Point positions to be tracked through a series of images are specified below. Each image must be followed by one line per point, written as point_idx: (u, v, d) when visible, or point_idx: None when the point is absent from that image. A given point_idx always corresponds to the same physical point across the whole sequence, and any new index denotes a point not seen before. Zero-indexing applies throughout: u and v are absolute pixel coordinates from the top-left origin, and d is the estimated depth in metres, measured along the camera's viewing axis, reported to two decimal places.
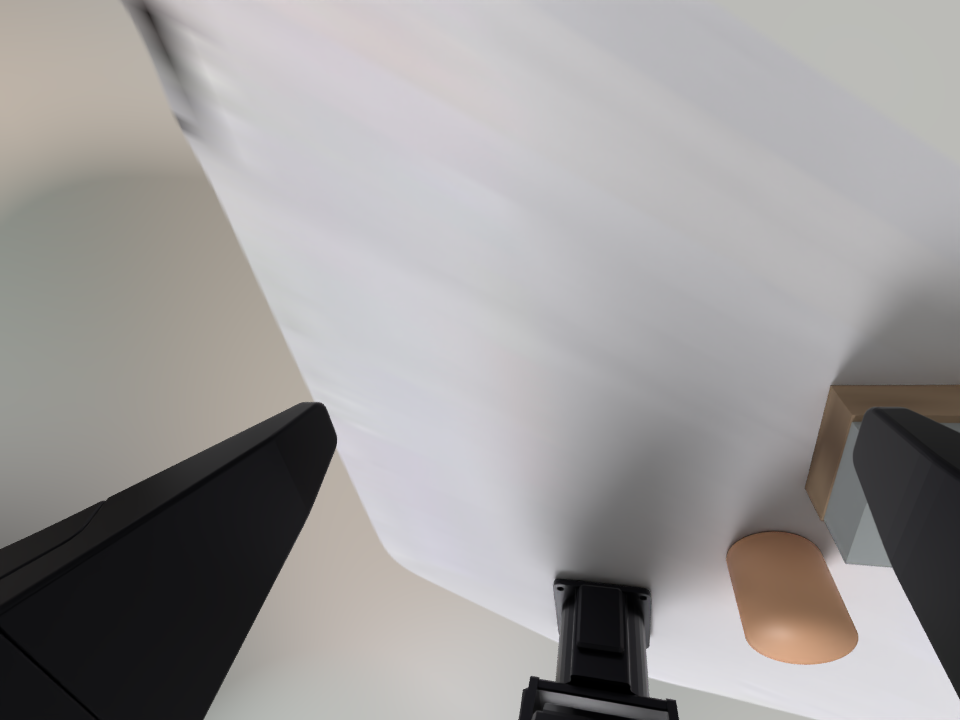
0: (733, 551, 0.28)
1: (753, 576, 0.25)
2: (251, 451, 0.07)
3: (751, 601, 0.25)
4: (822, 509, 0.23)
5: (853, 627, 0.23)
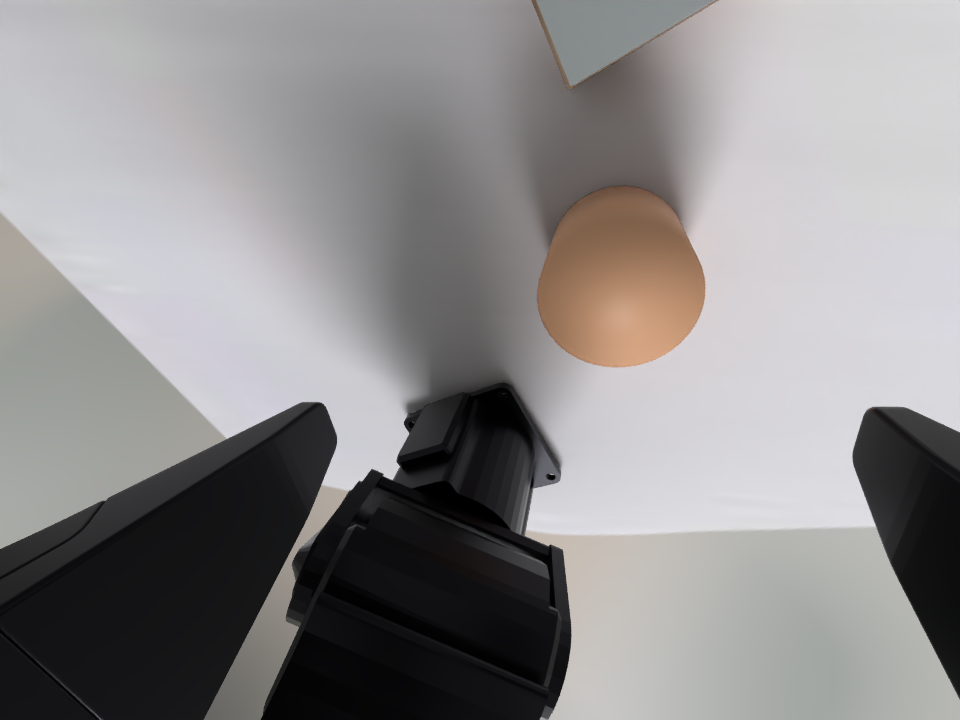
0: None
1: None
2: (251, 451, 0.07)
3: None
4: (559, 67, 0.14)
5: (672, 233, 0.13)
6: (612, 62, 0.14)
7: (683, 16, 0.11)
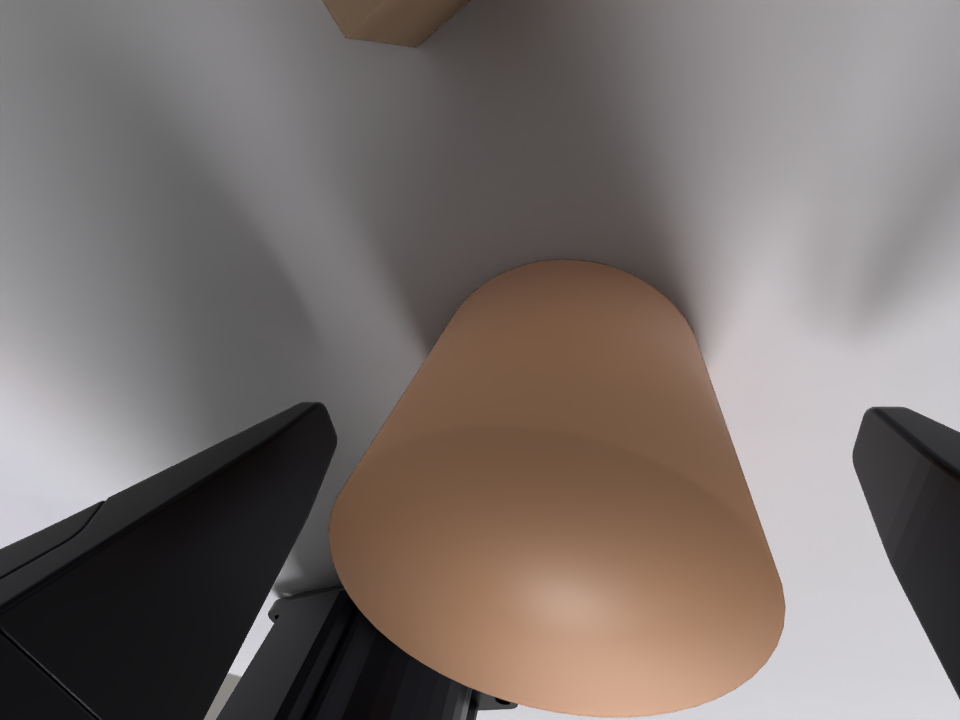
0: None
1: None
2: (251, 451, 0.07)
3: None
4: None
5: (673, 474, 0.04)
6: None
7: None
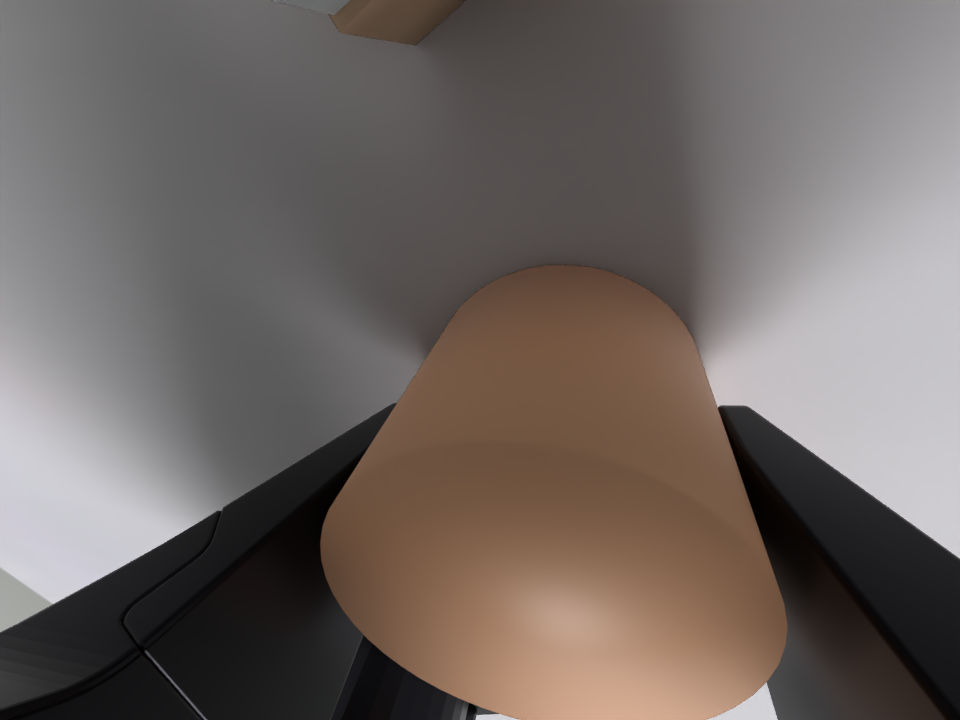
0: None
1: None
2: (361, 456, 0.07)
3: None
4: None
5: (672, 491, 0.04)
6: None
7: None
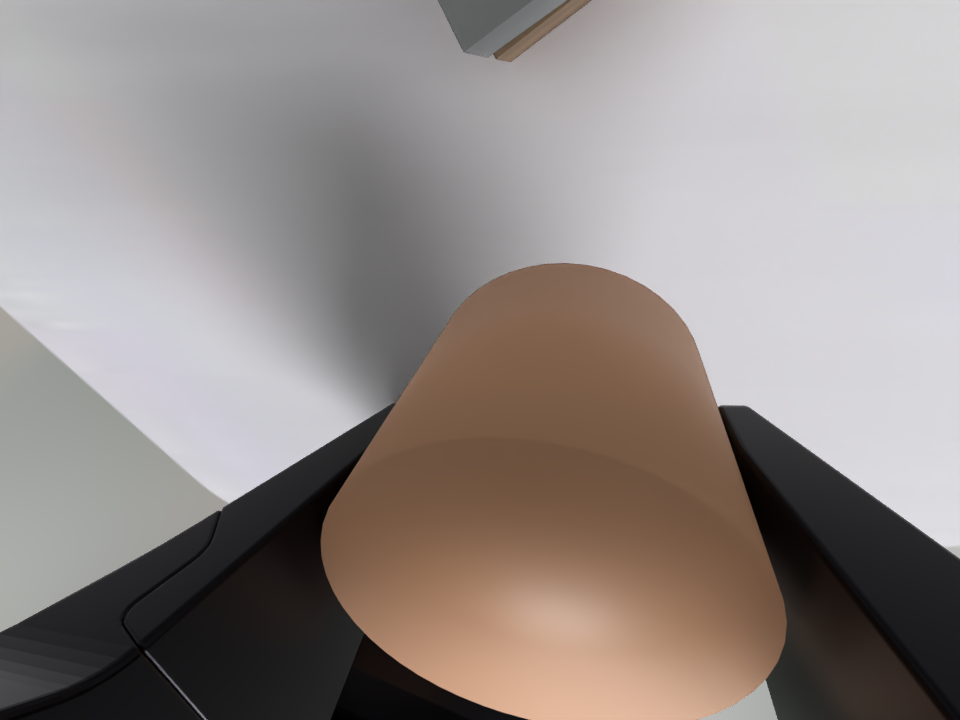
0: None
1: None
2: None
3: None
4: None
5: (671, 487, 0.04)
6: (543, 21, 0.11)
7: None
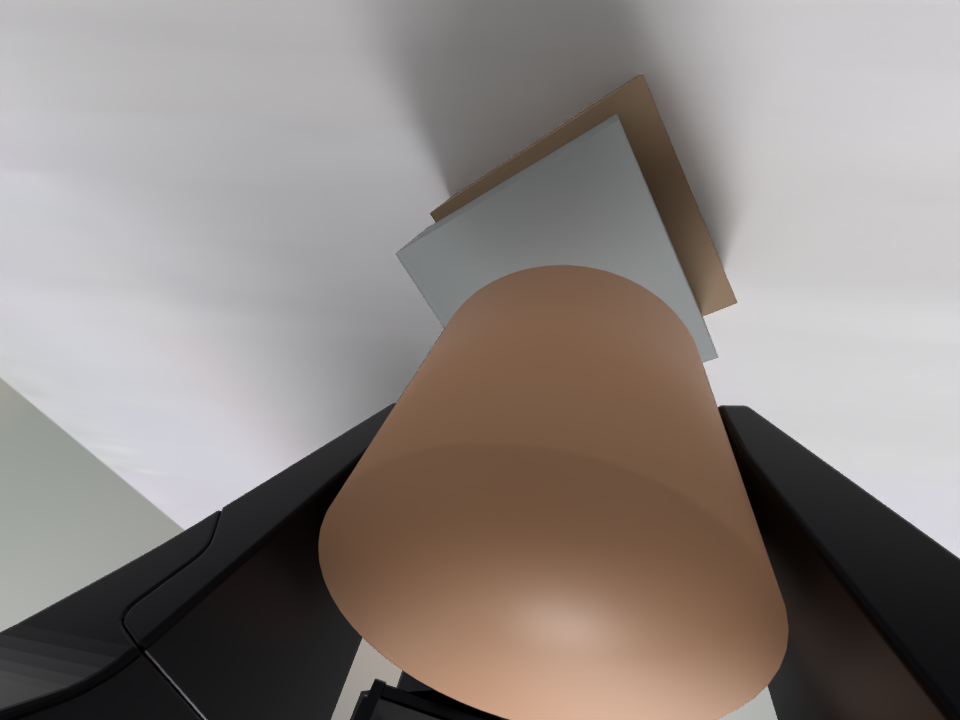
0: None
1: None
2: None
3: None
4: None
5: (672, 494, 0.04)
6: None
7: None
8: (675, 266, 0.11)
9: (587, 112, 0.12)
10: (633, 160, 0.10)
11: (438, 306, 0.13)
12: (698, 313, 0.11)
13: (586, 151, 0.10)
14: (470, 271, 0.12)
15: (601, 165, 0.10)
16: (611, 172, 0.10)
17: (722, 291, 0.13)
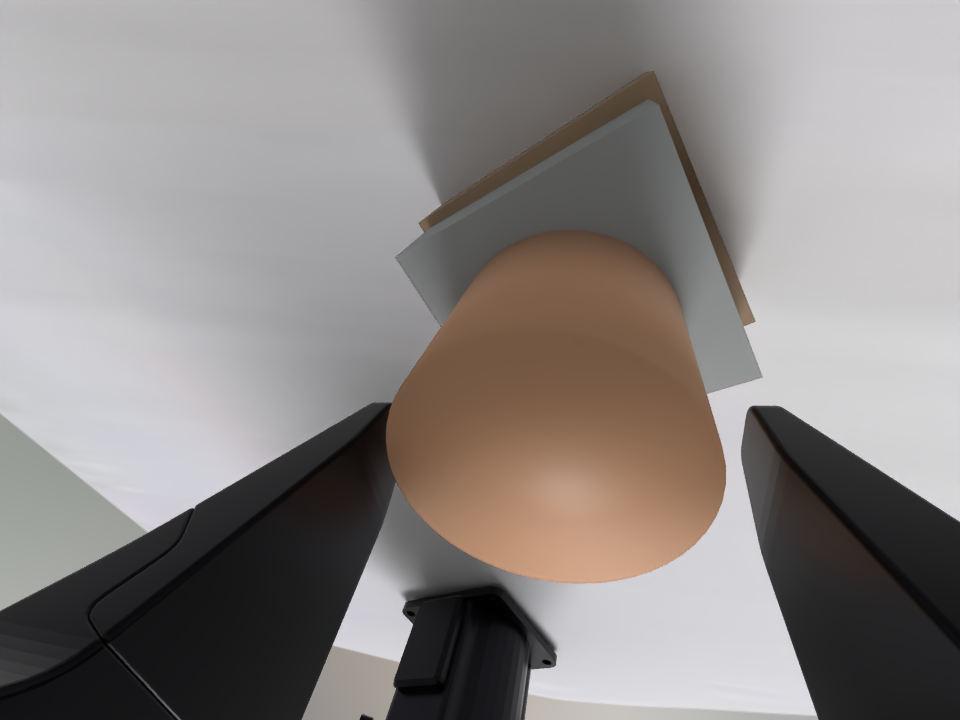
0: None
1: None
2: (336, 455, 0.07)
3: None
4: None
5: (641, 360, 0.06)
6: None
7: None
8: (718, 274, 0.09)
9: (591, 112, 0.10)
10: (674, 151, 0.08)
11: (443, 316, 0.11)
12: (742, 327, 0.10)
13: (619, 140, 0.08)
14: None
15: (636, 157, 0.08)
16: (648, 165, 0.09)
17: (739, 309, 0.12)
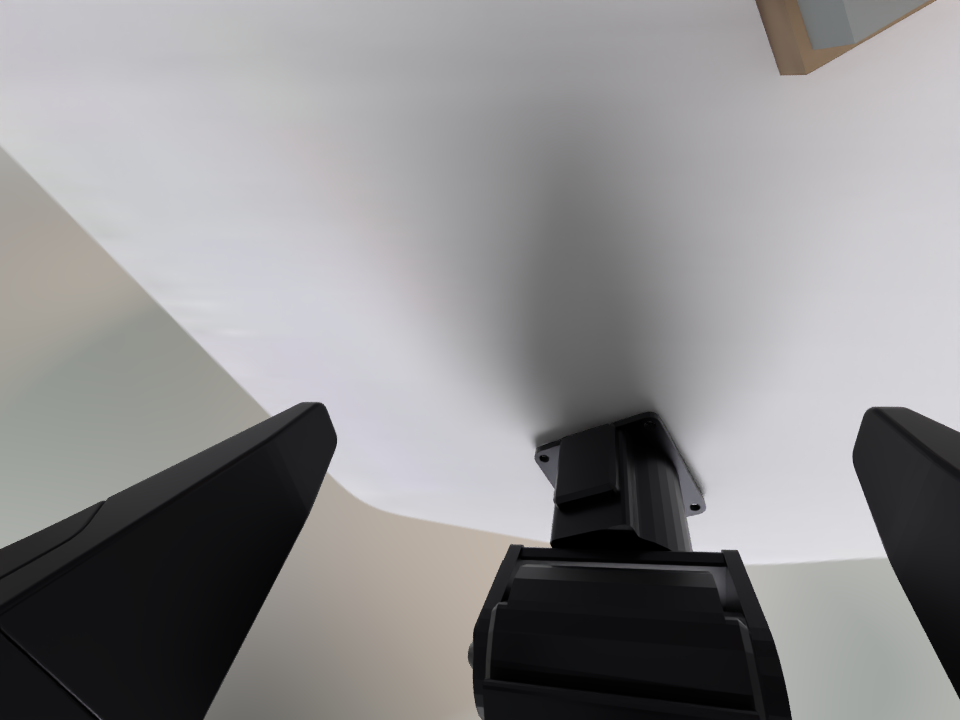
0: None
1: None
2: (251, 451, 0.07)
3: None
4: (797, 51, 0.13)
5: None
6: (867, 39, 0.12)
7: None
8: None
9: None
10: None
11: None
12: None
13: None
14: None
15: None
16: None
17: None
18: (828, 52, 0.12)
